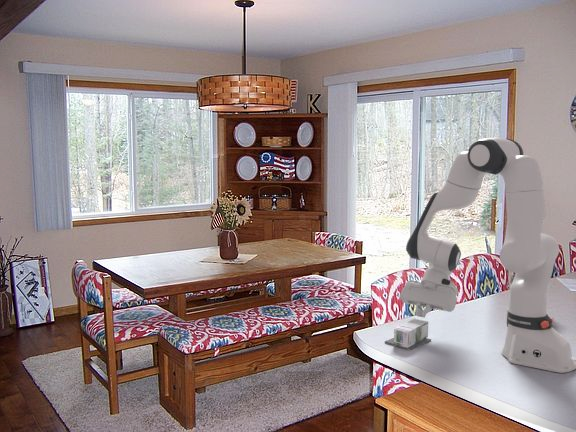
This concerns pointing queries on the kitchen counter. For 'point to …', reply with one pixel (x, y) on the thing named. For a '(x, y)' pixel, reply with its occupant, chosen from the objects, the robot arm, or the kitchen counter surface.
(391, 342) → the mat
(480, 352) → the kitchen counter surface
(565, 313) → the kitchen counter surface
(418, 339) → the syrup box
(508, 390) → the kitchen counter surface
